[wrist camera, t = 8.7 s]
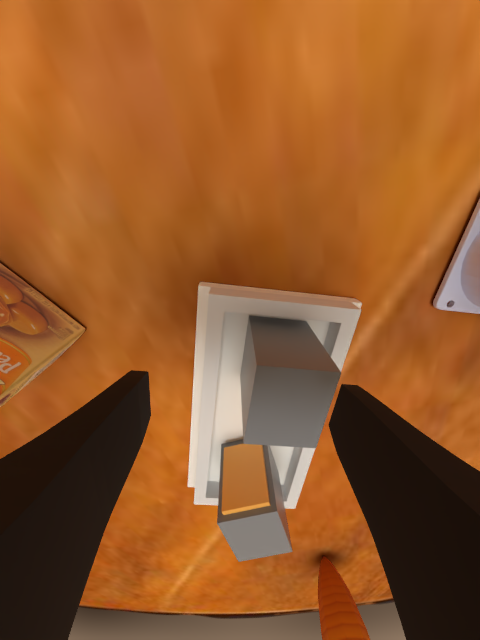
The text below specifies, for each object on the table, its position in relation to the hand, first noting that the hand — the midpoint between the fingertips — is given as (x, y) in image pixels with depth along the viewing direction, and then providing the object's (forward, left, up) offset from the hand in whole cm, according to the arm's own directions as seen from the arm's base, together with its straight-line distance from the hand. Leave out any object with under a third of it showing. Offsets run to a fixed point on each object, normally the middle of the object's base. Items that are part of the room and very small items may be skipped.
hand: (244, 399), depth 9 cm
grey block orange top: (-3, +14, -8) cm, 16 cm away
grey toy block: (-3, +2, -8) cm, 9 cm away
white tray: (-3, +8, -9) cm, 13 cm away
